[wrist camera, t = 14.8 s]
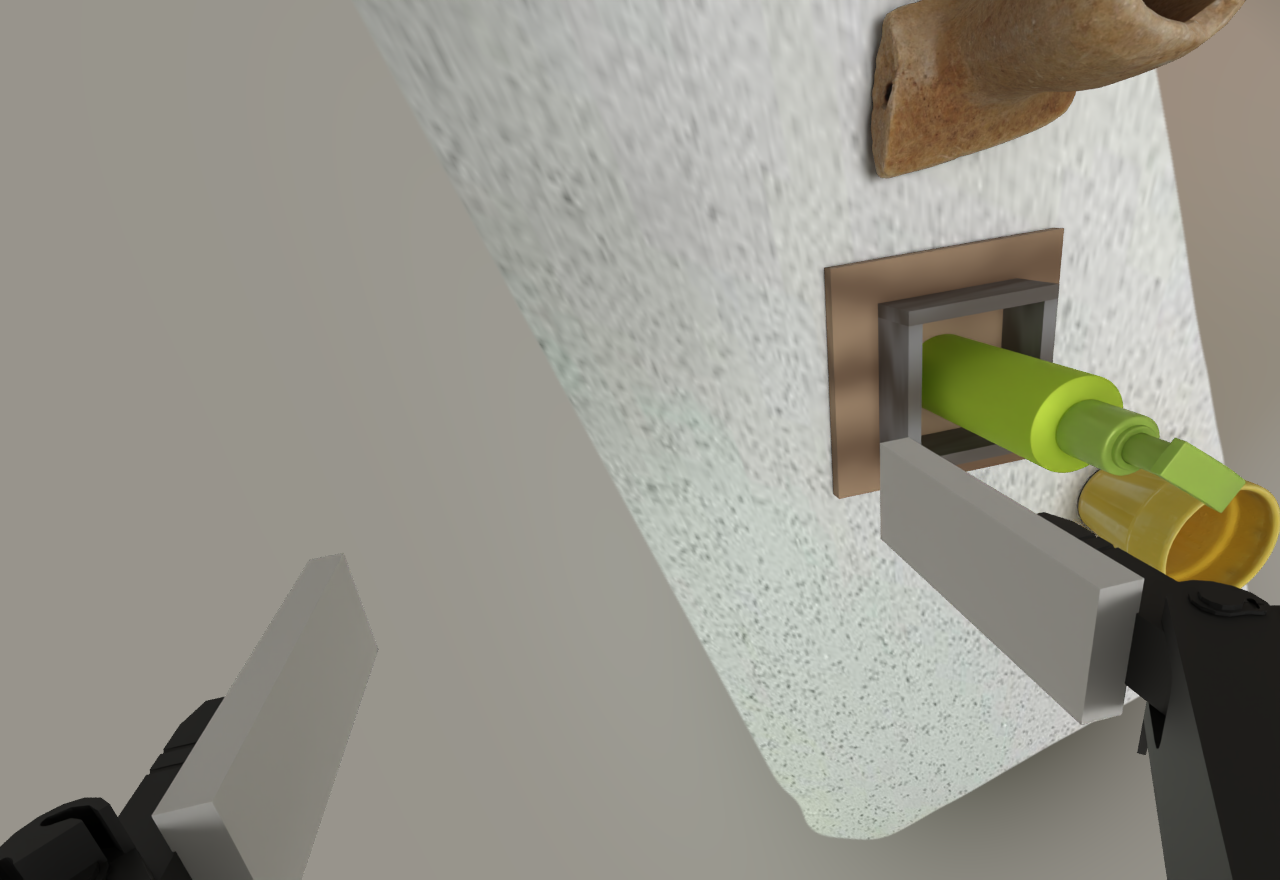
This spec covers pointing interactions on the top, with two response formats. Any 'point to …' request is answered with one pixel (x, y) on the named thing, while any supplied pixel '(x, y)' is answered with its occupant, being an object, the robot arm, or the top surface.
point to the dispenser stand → (910, 315)
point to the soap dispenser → (1060, 417)
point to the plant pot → (1182, 526)
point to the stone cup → (1013, 66)
